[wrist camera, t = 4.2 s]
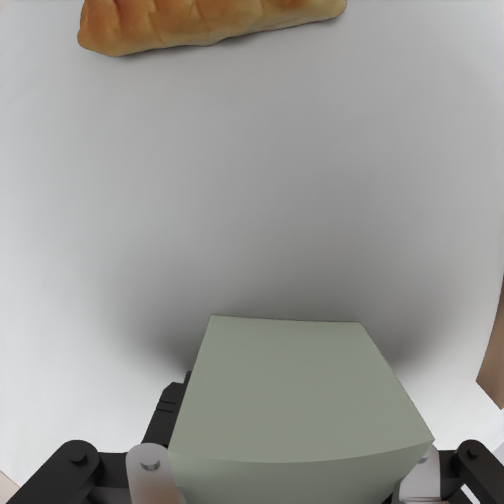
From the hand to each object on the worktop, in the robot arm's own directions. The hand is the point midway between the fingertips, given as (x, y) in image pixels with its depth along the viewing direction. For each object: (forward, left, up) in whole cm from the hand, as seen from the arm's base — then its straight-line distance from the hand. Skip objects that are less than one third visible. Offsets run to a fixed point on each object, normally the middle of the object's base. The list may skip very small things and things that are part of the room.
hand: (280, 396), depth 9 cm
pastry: (-15, -3, -1) cm, 16 cm away
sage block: (0, 0, -1) cm, 1 cm away
